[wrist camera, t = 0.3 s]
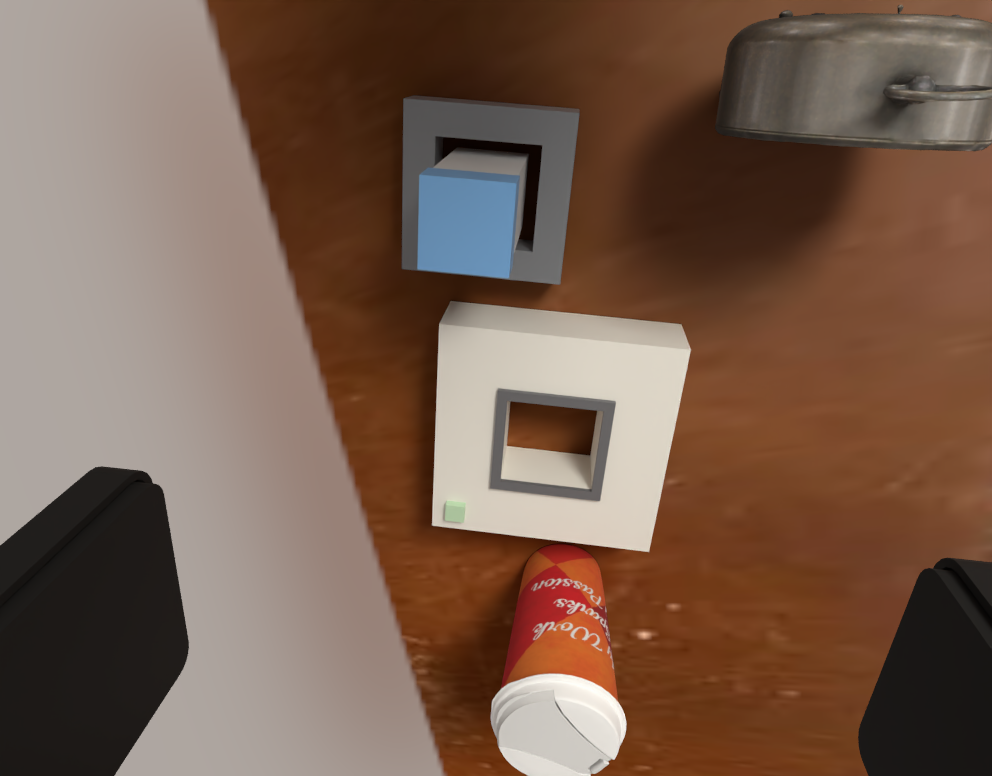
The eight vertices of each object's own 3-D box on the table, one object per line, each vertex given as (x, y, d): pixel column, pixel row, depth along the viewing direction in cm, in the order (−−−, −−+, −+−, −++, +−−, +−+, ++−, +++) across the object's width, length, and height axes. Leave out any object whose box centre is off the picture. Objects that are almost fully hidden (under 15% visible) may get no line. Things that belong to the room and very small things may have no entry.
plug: (455, 145, 39) (419, 174, 30) (530, 151, 39) (516, 183, 30) (452, 220, 41) (417, 269, 32) (524, 227, 41) (509, 278, 32)
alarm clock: (693, 125, 38) (766, 176, 23) (710, 10, 35) (804, -14, 21) (907, 136, 37) (1122, 195, 22) (939, 19, 34) (1205, -1, 20)
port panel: (450, 300, 43) (437, 327, 39) (681, 324, 42) (692, 353, 38) (442, 490, 49) (430, 530, 45) (643, 514, 49) (649, 556, 44)
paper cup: (637, 569, 51) (657, 741, 38) (570, 629, 54) (568, 807, 41) (551, 511, 49) (542, 670, 37) (487, 576, 52) (459, 743, 40)
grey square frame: (413, 95, 38) (403, 98, 36) (579, 108, 38) (579, 112, 36) (411, 257, 42) (401, 269, 40) (560, 271, 42) (560, 284, 39)
